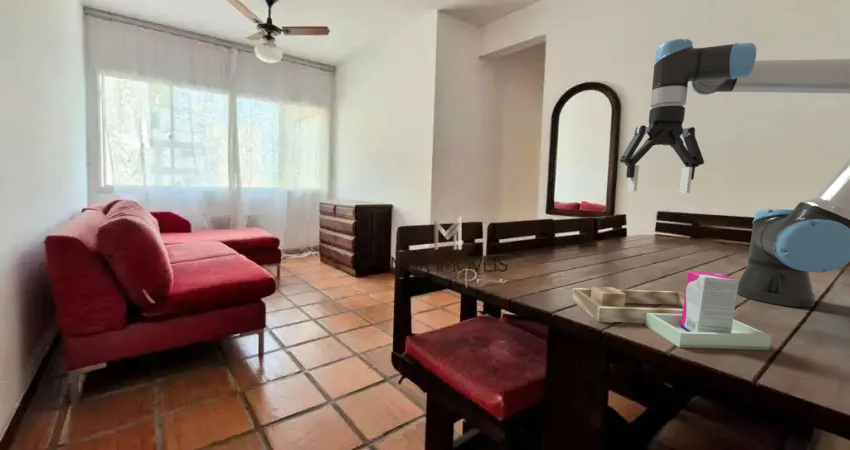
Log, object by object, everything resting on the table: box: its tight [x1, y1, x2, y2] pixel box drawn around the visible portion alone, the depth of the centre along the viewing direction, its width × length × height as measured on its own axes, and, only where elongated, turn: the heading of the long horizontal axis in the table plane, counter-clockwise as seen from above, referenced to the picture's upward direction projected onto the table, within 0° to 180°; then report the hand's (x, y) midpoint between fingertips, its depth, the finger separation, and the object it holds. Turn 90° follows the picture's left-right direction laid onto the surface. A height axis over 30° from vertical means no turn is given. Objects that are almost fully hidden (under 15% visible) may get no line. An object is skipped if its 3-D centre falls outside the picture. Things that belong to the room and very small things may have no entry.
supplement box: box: [681, 270, 740, 333], centre depth 69 cm, size 6×6×12 cm
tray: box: [644, 313, 772, 351], centre depth 70 cm, size 16×10×3 cm, turn 90°
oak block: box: [590, 286, 626, 307], centre depth 82 cm, size 5×5×5 cm
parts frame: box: [571, 287, 685, 324], centre depth 83 cm, size 26×14×3 cm, turn 90°
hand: (658, 192), depth 96 cm, fingers open, 13 cm apart
